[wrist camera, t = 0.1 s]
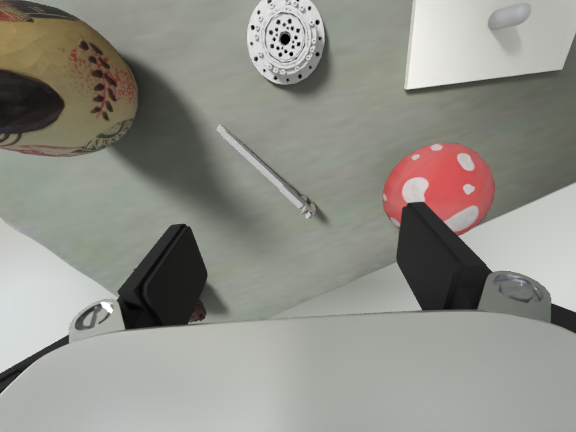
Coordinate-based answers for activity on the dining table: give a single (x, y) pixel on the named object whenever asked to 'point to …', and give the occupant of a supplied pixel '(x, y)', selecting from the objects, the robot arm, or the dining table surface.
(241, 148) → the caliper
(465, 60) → the pin board
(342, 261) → the dining table surface
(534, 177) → the dining table surface
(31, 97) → the ceramic jug
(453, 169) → the decorative mushroom
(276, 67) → the mechanical component
